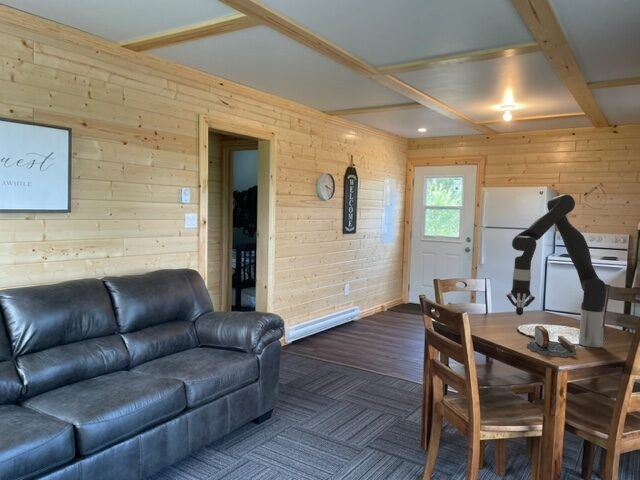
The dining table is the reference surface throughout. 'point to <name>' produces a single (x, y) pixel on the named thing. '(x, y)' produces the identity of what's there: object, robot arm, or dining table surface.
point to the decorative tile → (551, 349)
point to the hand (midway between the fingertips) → (519, 315)
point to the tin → (542, 336)
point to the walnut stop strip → (566, 343)
